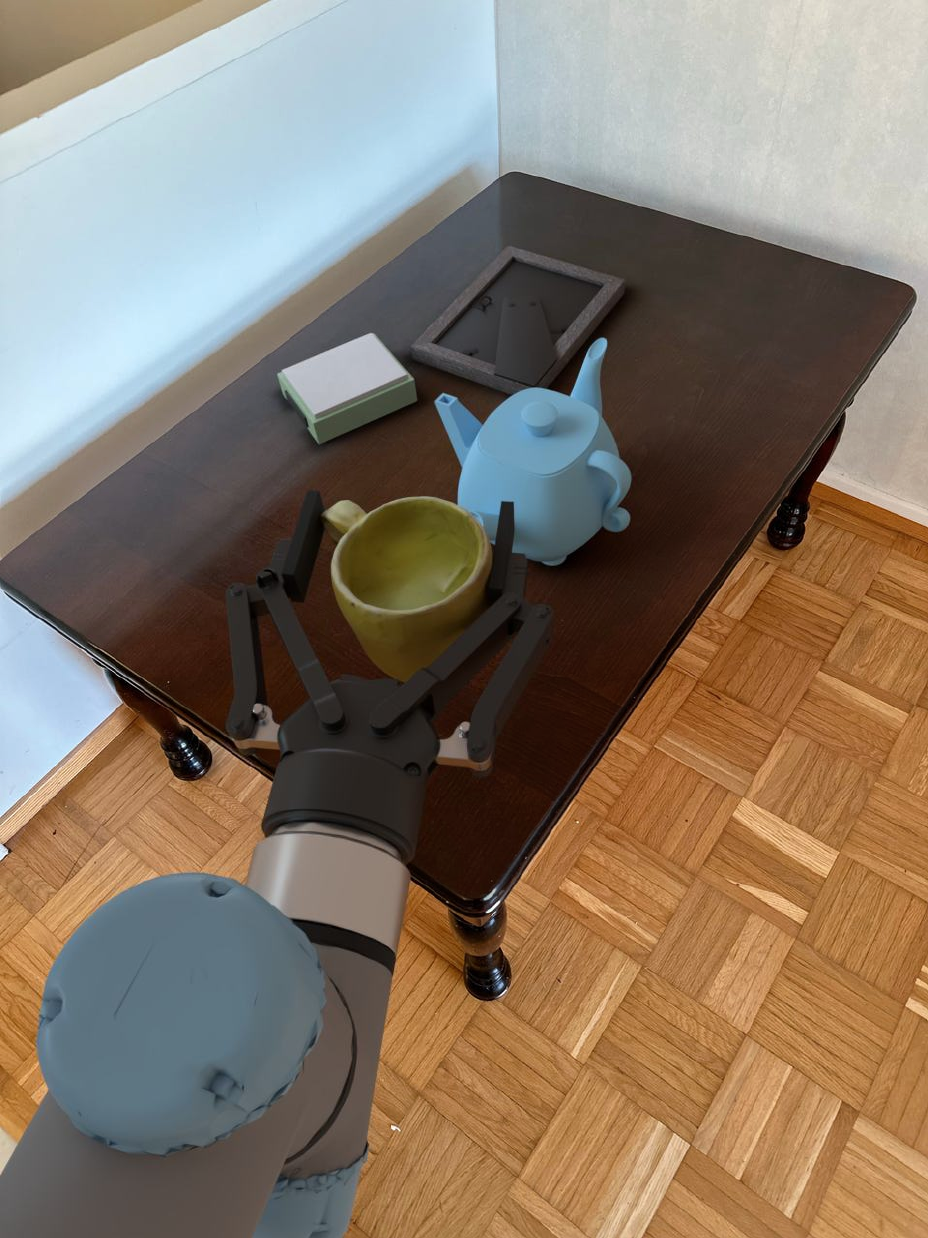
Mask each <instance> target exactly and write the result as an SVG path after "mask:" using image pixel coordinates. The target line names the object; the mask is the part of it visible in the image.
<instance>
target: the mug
mask: <svg viewBox="0 0 928 1238" xmlns="http://www.w3.org/2000/svg"><path fill="white" fill-rule="evenodd" d="M320 518H321V521H322V524H323V526H324V528H325V531H324V532H326V534H327V535H328V536H329V538H330V540H331V542H332V543H333V545H334V546H335V549H334V551H333V555H332V558H331V562H330V577H331V583H332V588H333V593H334V597H335V599H336V602H337V605H338V607H339V609H340V611H341V613H342V615H343V617H344V619H345V620H346V621H347V623H348V625H349V626H350V628H351V630H352V632H353V633H354V635H355V637H356V638H357V640H358V641H359V644H360V645H361V647H362V649H363V650H364V652H365V654H366V655H367V657H368V658H369V660H371V662H372V663H373V664H374V665H375V666H376V667H377V668H379V670H380V671H382V672H383V673H384V674H386V675H387V676H389V677H390V678H391V679H399V682H401V683H405V682H406V681H407V680H408V679H409V678H411V677H412V676H413V675H414V674H415V673H416V672H417V671H418V670H419V669H421V668H427V667H428V666H429V665H430V664H431V663H432V662H433V661H435V660H436V659H437V658H438V657H439V656H440V655H441V654H442V653H443V652H444V651H445V650H446V649H447V648H448V647H449V646H450V645H451V644H452V643H453V642H454V641H455V640H456V639H457V638H458V637H460V636H461V635H462V634H463V633H464V632H465V631H466V630H467V629H468V628H469V627H470V626H471V625H472V624H473V623H474V622H475V621H476V620H477V619H478V618H479V617H480V616H481V615H482V614H483V613H484V612H486V611H487V610H488V609H489V608H490V605H489V591H488V587H489V580H490V573H491V567H492V560H493V553H494V552H493V547H492V543H490V540H489V538H488V536H487V533H486V532H485V530H484V528H483V526H482V524H481V523H480V522H479V521H478V520H477V519H476V518H475V517H474V516H473V515H472V514H471V513H470V512H469V511H467V510H466V509H464V508H462V507H460V506H458V504H456V503H454V502H452V501H448V500H445V499H442V498H438V497H437V496H425V495H423V496H408V497H403V498H399V499H395V500H392V501H389V502H386V503H384V504H382V505H381V506H379V507H377V508H375V509H373V510H371V511H369V512H368V513H367V512H365V510H364V509H362V508H361V507H360V505H358V504H357V503H355V502H353V501H351V500H349V499H346V500H345V499H344V500H340V501H337V502H336V503H335V504H333V505H332V506H331V507H329V508H327V509H325V511H324V512H323V513H322V514H321V515H320Z"/></svg>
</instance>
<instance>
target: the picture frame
mask: <svg viewBox="0 0 928 1238" xmlns="http://www.w3.org/2000/svg"><path fill="white" fill-rule="evenodd" d="M625 289H626V279H625V278H621V277H618V276H616V275H615V276H614V275H611V274H608V273H605V272H602V271H601V272H600V271H598V270H594V269H590V268H587V267H583V266H580V265H577V264H573V263H569V262H566V261H562V260H560V259H556V258H553V257H549V256H545V255H542V254H539V253H535V252H532V251H529V250H525V249H522V248H518V247H515V246H511V245H507V246H506V247H504V249H503V250H502V251H501V252H500V253H498V255H497V256H496V257H495V258H494V259H493V260H492V261H491V262H490V263H489V264H488V265H487V267H485V268H484V269H483V271H482V272H480V274H479V275H478V276H477V277H476V278H474V280H473V281H472V282H471V283H470V284H469V285H468V286H467V287H466V288H465V289H464V290H463V291H462V292H461V293H460V294H459V296H457V297H456V298H455V300H453V302H452V303H450V305H449V306H447V308H446V309H445V310H444V311H443V312H442V313H441V314H440V315H439V316H438V317H437V318H436V319H435V320H434V321H433V322H432V323H431V324H430V325H429V326H428V327H427V328H426V329H425V330H424V331H423V333H422V334H421V335H420V336H419V337H417V339H415V341H414V342H413V343H412V344H411V345H410V351H411V358H412V360H413V361H415V362H418V363H421V364H424V365H427V366H429V367H432V368H435V369H438V370H441V371H443V372H446V373H449V374H452V375H455V376H457V377H461V378H463V379H465V380H468V381H471V382H474V383H476V384H480V385H482V386H485V387H488V388H491V389H494V390H496V391H499V392H501V393H505V394H508V395H509V396H513V395H514V394H516V393H518V392H520V391H522V390H525V389H529V388H543V389H548V388H549V387H550V385H552V383H553V382H554V381H555V380H556V378H557V376H558V375H559V374H560V373H561V372H562V371H563V369H564V368H565V367H566V366H567V364H568V363H569V362H570V361H571V360H572V358H573V357H574V356H575V355H576V354H577V352H578V351H579V350H580V348H581V347H582V346H583V345H584V344H585V343H586V341H587V340H588V339H589V337H590V336H591V335H592V334H593V333H594V331H595V330H596V329H597V328H598V327H599V325H600V324H601V323H602V322H603V320H604V319H605V318H606V317H607V316H608V314H609V313H610V312H611V310H612V309H613V308H614V307H615V306H616V304H617V303H618V302H619V301H620V299H621V298H622V297H623V296H624V294H625Z"/></svg>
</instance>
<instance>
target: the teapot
mask: <svg viewBox="0 0 928 1238" xmlns="http://www.w3.org/2000/svg"><path fill="white" fill-rule="evenodd" d="M607 348H608V340H607V338H605V337H599V338H597V339H596V340H595V341H594V342H593V343H592V344H591V345H590V346H589V348H588V350H587V351H586V353H585V354H586V355H585V357H584V359H583V362H582V365H581V368H580V371H579V373H578V376H577V379H576V380H575V383H574V387H573V388H572V391H571V394H570V395H567V394H564V393H561V392H558V391H555V390H551V389H548V388H547V389H543V388H529V389H525V390H522V391H520V392H518V393H516V394H514V395H510V396H509V397H508V398H507V399H505V400H504V401H503V402H501V404H500V405H498V406H497V407H496V408H495V409H494V410H493V411H492V412H491V414H490V415H489V416H488V418H486V421H484V423H483V424H482V423H481V422H480V420H478V419H477V418H476V416H474V415H473V413H471V412H470V411H469V410H468V409H467V408H466V407H465V406H464V405H463V404H462V403H461V402H460V401H459V399H458V397H456V396H453V395H450V394H447V393H444V392H442V393H441V394H440V395H439V396H438V397H437V398H436V399H435V400H434V401H433V402H434V405H435V407H436V410H437V412H438V414H439V416H440V419H441V421H442V424H443V427H444V429H445V431H446V433H447V436H448V438H449V440H450V442H451V445H452V447H453V449H454V452H455V454H456V456H457V459H458V461H459V464H460V466H461V473H460V477H459V481H458V487H457V505H458V506H460V507H462V508H464V509H466V510H467V511H469V512H470V513H471V514H472V515H473V516H474V517H475V518H476V519H477V520H478V521H479V522H480V523H481V524H482V526H483V528H484V530H485V532H486V533H487V536H488V538H489V540H490V543H491V545H494V546H495V540H496V533H497V526H498V520H499V513H500V506H501V501H509V502H514V525H515V533H514V540H513V548H512V553H524V554H525V556H526V559H527V560H530V561H534V562H541V563H542V564H544V565H546V566H553V567H554V566H558V565H560V564H562V563H564V562H565V560H566V559H567V556H568V555H570V554H572V553H574V552H575V551H576V550H578V549H580V547H582V546H583V545H584V544H586V543H587V542H588V541H589V540H591V538H593V537H594V536H595V535H596V534H597V533H598V532H599V531H600V530H601V529H602V528H604V529H605V530H606V531H608V532H611V533H612V532H614V533H619V532H622V531H625V530H626V529H627V527H628V526H629V525H630V522H631V514H630V513H629V512H628V510H627V509H625V508H623V507H619V505H620V504H621V502H622V501H623V500H624V499H625V497H626V496H627V494H628V492H629V490H630V488H631V486H632V485H631V484H632V473H631V470H630V468H629V466H628V465H627V464H626V462H625V461H624V460H623V459H621V458H620V453H619V449H618V446H617V443H616V440H615V438H614V436H613V434H612V432H611V430H610V428H609V426H608V424H607V422H606V421H605V419H604V418H603V400H602V391H601V390H602V389H601V370H602V364H603V361H604V357H605V355H606V352H607Z"/></svg>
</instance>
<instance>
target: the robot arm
mask: <svg viewBox="0 0 928 1238" xmlns="http://www.w3.org/2000/svg"><path fill="white" fill-rule="evenodd" d="M324 506H325V505H324V503H323V499H322V495H321V491H320V490H312V489H311V490H310V489H308V490H306V493H305V496H304V499H303V503H302V505H301V509H300V512H299V516H298V518H297V522H296V525H295V528H294V531H293V535H292V537H291V538H280V539H279V541H278V542H277V543H276V544H275V546H274V549H273V553H272V555H271V559H270V561H269V565H268V567H263V568H262V569H260V570H259V571H257V573H255V574H256V575H255V581H256V584H253V585H247V586H246V585H245V584H244V583H241V582H235V583H232V584H230V585H229V586H228V587H227V588H226V590H225V601H226V613H227V623H228V635H229V646H230V648H229V649H230V659H231V670H232V679H233V681H232V682H233V691H234V692H233V693H234V695H233V699H232V702H231V705H230V708H229V712H228V715H227V718H226V722H225V730H226V732H227V733H228V735H229V736H230V739H231V740H232V741H233V743H234V745H235V747H236V748H237V750H238V752H239V753H240V754H241V755H242V756H252V755H254V754H255V753H257V752H258V751H259V749H265V750H266V749H267V750H277V751H279V752H280V753H279V755H280V757H279V761H278V764H277V766H276V769H275V773H274V776H273V780H272V784H271V787H270V791H269V795H268V798H267V800H266V801H267V802H266V806H265V809H264V813H263V816H262V819H261V822H260V823H261V824H260V826H261V827H260V828H261V832H262V833H263V835H264V838H261V840H258V841H257V843H256V844H255V846H254V847H253V851H252V855H251V859H250V862H249V866H248V870H247V875H246V877H245V882H244V884H243V883H241V882H240V881H238V880H237V879H235V878H232V877H226V876H221V875H217V874H214V873H206V872H178V873H177V872H176V873H169V874H165V875H160V876H156V877H153V878H150V879H147V880H144V881H142V882H140V883H138V884H135V885H133V886H130V887H128V888H126V889H124V890H122V891H120V892H119V893H117V894H116V895H114V896H113V897H112V898H110V899H108V900H107V901H106V902H104V903H103V904H102V905H100V906H99V907H97V908H96V909H95V910H94V911H93V912H92V913H91V914H90V915H89V916H88V917H87V918H86V919H85V920H84V921H82V923H81V924H80V925H79V926H78V927H77V928H76V929H75V931H73V933H72V934H71V935H70V937H69V938H68V939H67V941H66V942H65V944H64V945H63V946H62V948H61V949H60V951H59V953H58V954H57V956H56V957H55V960H54V961H53V963H52V965H51V967H50V969H49V971H48V974H47V977H46V979H45V982H44V989H43V992H42V997H41V998H42V1002H41V1006H40V1009H39V1014H38V1024H37V1027H38V1028H37V1033H36V1038H35V1045H36V1055H37V1056H36V1057H37V1060H38V1064H39V1069H40V1072H41V1075H42V1078H43V1080H44V1082H45V1085H46V1087H47V1089H48V1090H47V1091H46V1093H45V1095H44V1096H43V1098H42V1099H41V1102H40V1103H39V1105H38V1107H37V1108H36V1111H35V1112H34V1114H33V1115H32V1118H31V1119H30V1121H29V1123H28V1125H27V1127H26V1128H25V1130H24V1132H23V1133H22V1135H21V1137H20V1139H19V1141H18V1143H17V1144H16V1146H15V1147H14V1150H13V1151H12V1153H11V1155H10V1157H9V1158H8V1161H7V1162H6V1164H5V1166H4V1168H3V1169H2V1171H1V1173H0V1238H343V1237H344V1236H345V1234H346V1233H347V1231H348V1228H349V1225H350V1222H351V1218H352V1213H353V1208H354V1204H355V1199H356V1194H357V1189H358V1185H359V1181H360V1175H361V1171H362V1168H363V1166H364V1164H366V1163H367V1160H368V1157H369V1151H370V1143H369V1141H368V1135H369V1128H370V1122H371V1117H372V1116H371V1114H372V1109H373V1103H374V1095H375V1090H376V1083H377V1078H378V1077H377V1076H378V1072H379V1071H378V1070H379V1063H380V1057H381V1052H382V1045H383V1038H384V1032H385V1025H386V1021H387V1014H388V1008H389V1001H390V995H391V990H392V984H393V977H394V974H395V968H396V963H397V956H398V950H399V946H400V939H401V934H402V928H403V924H404V918H405V912H406V907H407V901H408V896H409V891H410V885H411V877H412V875H411V872H410V871H409V868H408V867H407V865H408V864H409V863H410V862H411V861H412V860H413V859H415V856H416V851H417V845H418V840H419V839H418V838H419V833H420V826H421V821H422V816H423V815H422V814H423V810H424V804H425V798H426V793H427V787H428V783H429V781H430V778H431V777H432V775H433V773H435V771H436V770H437V769H438V768H439V766H440V765H441V766H450V767H460V768H468V769H469V771H470V773H471V775H472V776H474V777H476V778H485V777H488V776H489V775H490V774H491V773H492V771H493V768H494V762H495V761H494V760H495V753H496V745H497V739H498V737H499V736H500V734H501V732H502V730H503V729H504V726H505V725H506V723H507V721H508V720H509V718H510V716H511V714H512V713H513V711H514V709H515V707H516V706H517V704H518V702H519V701H520V698H521V697H522V695H523V693H524V692H525V690H526V688H527V686H528V684H529V683H530V680H531V679H532V677H533V675H534V674H535V672H536V670H537V668H538V667H539V665H540V663H541V661H542V659H543V658H544V656H545V654H546V652H547V650H548V649H549V647H550V645H551V644H552V641H553V638H554V637H553V636H554V633H553V632H554V610H553V608H552V607H551V606H550V605H548V604H545V603H540V604H539V603H538V604H536V605H535V604H532V603H530V602H528V601H527V599H526V589H527V583H528V582H527V581H528V559H527V558H526V556H525V554H524V553H512V548H513V540H514V533H515V525H514V502H509V501H501V506H500V513H499V520H498V526H497V533H496V540H495V545H494V546H493V547H494V548H493V552H492V553H493V560H492V567H491V573H490V580H489V587H488V591H489V605H490V608H489V609H488V610H487V611H486V612H484V613H483V614H482V615H481V616H480V617H479V618H478V619H477V620H476V621H475V622H474V623H473V624H472V625H471V626H470V627H469V628H468V629H467V630H466V631H465V632H464V633H463V634H462V635H461V636H460V637H458V638H457V639H456V640H455V641H454V642H453V643H452V644H451V645H450V646H449V647H448V648H447V649H446V650H445V651H444V652H443V653H442V654H441V655H440V656H439V657H438V658H437V659H436V660H435V661H433V662H432V663H431V664H430V665H429V666H428V667H427V668H421V669H419V670H418V671H417V672H416V673H415V674H414V675H413V676H412V677H411V678H409V679H408V680H407V681H406V682H403V684H402V683H400V681H399V679H394V678H391V677H390V678H388V677H382V678H375V679H367V678H364V677H360V676H358V675H353V674H340V678H337V679H334V680H331V681H330V680H329V678H328V676H327V674H326V672H325V670H324V668H323V666H322V664H321V662H320V660H319V659H318V657H317V655H316V653H315V651H314V649H313V646H312V644H311V643H310V640H309V639H308V636H307V634H306V632H305V630H304V628H303V626H302V624H301V622H300V620H299V618H298V615H297V614H296V612H295V610H294V608H293V605H292V603H300V604H301V603H303V604H304V602H305V599H306V596H307V593H308V588H309V586H310V582H311V579H312V576H313V571H314V569H315V565H316V561H317V558H318V554H319V551H320V549H321V545H322V540H323V537H324V534H325V532H326V531H325V528H324V526H323V524H322V521H321V518H320V515H321V514H322V513H323V512H324V511H326V509H325V507H324ZM291 602H292V603H291ZM266 615H270V617H271V619H272V621H273V623H274V626H275V628H276V630H277V632H278V634H279V637H280V639H281V641H282V643H283V645H284V647H285V649H286V652H287V654H288V656H289V658H290V661H291V662H292V664H293V667H294V669H295V671H296V674H297V676H298V677H299V680H300V682H301V684H302V686H303V688H304V690H305V693H306V695H307V697H308V699H307V700H306V701H305V702H304V703H303V704H301V705H300V706H299V707H298V708H297V709H296V710H294V711H293V712H292V713H291V714H289V716H288V717H287V718H285V719H284V720H283V721H282V722H281V724H278V723H277V719H276V717H275V715H274V713H273V711H272V708H271V707H269V706H268V705H269V704H268V696H267V695H268V694H267V688H266V679H265V669H264V661H263V651H262V644H261V643H262V642H261V635H260V626H259V617H261V616H266ZM511 641H512V642H511ZM510 642H511V644H510V646H509V647H508V649H507V651H506V652H505V654H504V655H503V658H502V660H501V661H500V663H499V664H498V666H497V667H496V669H495V671H494V672H493V675H492V676H491V678H490V679H489V681H488V683H487V684H486V686H485V688H484V690H483V691H482V692H481V695H480V696H479V698H478V700H477V701H476V704H475V705H474V707H473V710H472V714H471V717H470V721H462V722H461V723H460V724H459V725H458V726H457V727H456V728H455V730H454V732H453V733H452V735H450V736H449V737H447V738H440V736H439V734H438V732H437V731H436V729H435V728H434V726H433V724H434V723H435V722H436V721H437V720H438V719H439V718H440V717H441V716H442V714H443V713H444V711H445V710H446V707H447V705H448V704H449V703H450V701H451V700H453V699H454V697H455V696H456V695H457V694H458V693H459V692H460V691H461V690H462V689H463V688H464V687H465V686H467V685H468V684H469V682H470V681H471V680H473V679H474V677H475V676H477V674H479V673H480V672H481V671H482V670H483V669H484V668H485V667H486V665H487V664H488V663H490V662H491V660H493V659H494V658H495V656H497V655H498V654H499V653H500V651H501V650H503V649H504V648H505V646H507V645H508V644H509V643H510Z"/></svg>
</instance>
